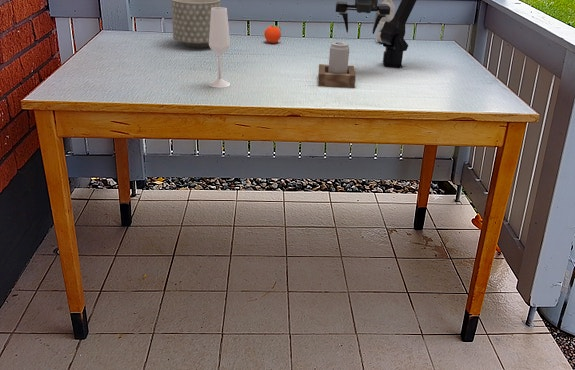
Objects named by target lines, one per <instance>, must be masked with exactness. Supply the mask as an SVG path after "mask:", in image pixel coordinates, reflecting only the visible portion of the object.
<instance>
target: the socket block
mask: <svg viewBox="0 0 575 370" xmlns="http://www.w3.org/2000/svg"><path fill="white" fill-rule="evenodd" d="M328 69H329V64H326V63H325V64H322V63H320V64H318V72H317V73H318V74H317V75H318V79H317V82H318V84H317V85H318V87H332V88H333V87H335V88H352V89H354V88H355V87H356V78H357V75H356V71H355V66H354V65H348V70H347V74H341V73H328Z"/></svg>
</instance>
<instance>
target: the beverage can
mask: <svg viewBox="0 0 575 370" xmlns="http://www.w3.org/2000/svg"><path fill="white" fill-rule="evenodd" d="M349 54H350V46H349V43H347V42H346V41H333V42H331V44H330V47H329V56H328V57H329V58H328V65H329V69H328V73H341V74H347V70H348V66H349V57H350V55H349Z"/></svg>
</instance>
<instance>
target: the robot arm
mask: <svg viewBox="0 0 575 370" xmlns="http://www.w3.org/2000/svg"><path fill="white" fill-rule="evenodd" d="M417 1H418V0H400V3H399V4H398V7H397V9H396V10H395V12H394V16H393V19H392V20H391V21H390V22H387V21H386V22H385V23H384V26H383V28H382V30H381V31H380V32H381V34H380V37H381V41H382V43H381V44H382V47H384V48H385V50H384V51H383V55H382V63H383V64H384V67H391V68H403V64H402V63H403V57H404V52H407V51H408V50H407V49H408V47H409V44H408V43H407V41H406V40H405V39H404V38H405V35H406V24H407V22H408V19H409V17H410V15H411V14H412V11H413V9H414V7H415V5H416V2H417ZM348 11H356V12H357V14H358V13H359V14H362V13H366V14H370V13H372V12H375V16H374V20H373V26H372V31H371V32H372V35H374V34H375V31H376V29H377V27H378V26H379V22H380V20H381V19H382V17H386V15H390V6H389V5H388V4H382V3H379V0H354V4H349V3H348V1H337V2H335V13H338V15H340V16H342V18H343V21H344V22H343V23H344V27H345V31H346V33H347V34H348V32H349V19H348V17H349V13H348Z"/></svg>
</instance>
